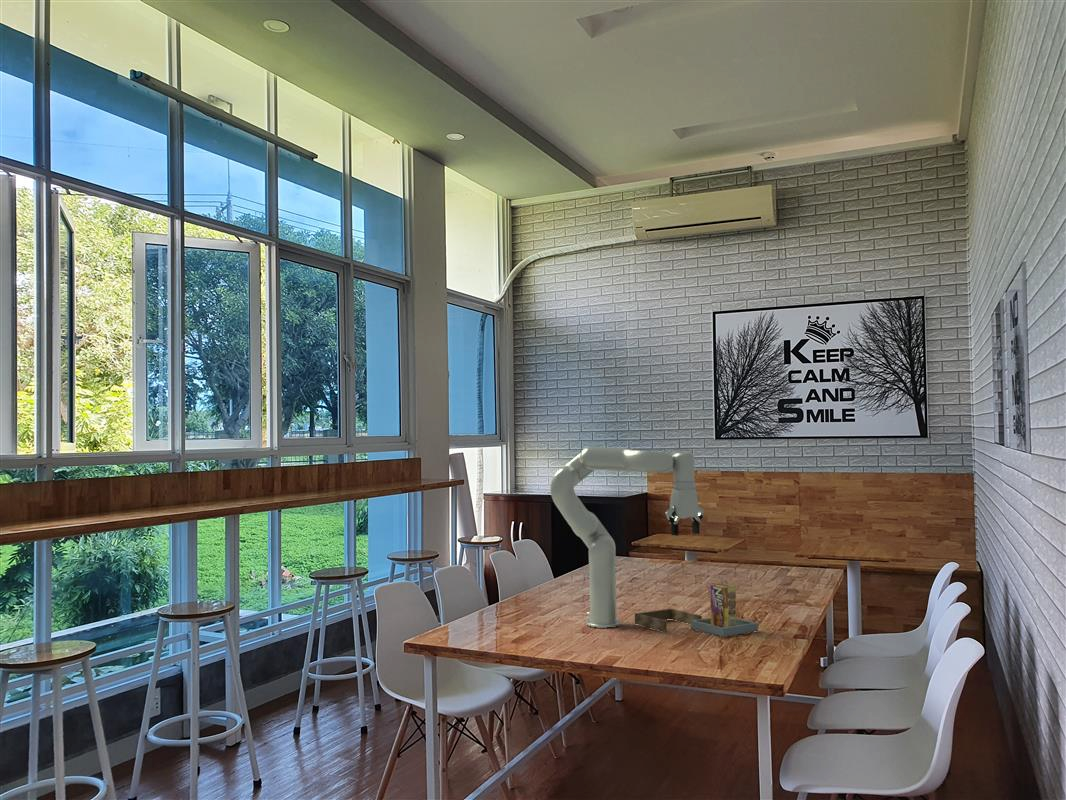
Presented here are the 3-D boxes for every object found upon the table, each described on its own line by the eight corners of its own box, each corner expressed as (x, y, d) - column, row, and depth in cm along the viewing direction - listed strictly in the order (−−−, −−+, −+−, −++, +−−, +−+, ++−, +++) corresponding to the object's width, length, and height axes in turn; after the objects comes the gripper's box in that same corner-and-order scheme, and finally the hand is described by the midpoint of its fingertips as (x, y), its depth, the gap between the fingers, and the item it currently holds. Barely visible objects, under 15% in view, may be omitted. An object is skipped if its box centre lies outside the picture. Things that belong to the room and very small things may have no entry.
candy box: (737, 630, 279) (736, 585, 280) (728, 631, 277) (727, 586, 278) (719, 625, 287) (718, 581, 288) (710, 627, 285) (709, 582, 286)
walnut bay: (634, 624, 293) (634, 613, 294) (671, 619, 302) (671, 608, 302) (664, 633, 279) (664, 621, 279) (701, 627, 288) (701, 615, 288)
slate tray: (690, 629, 284) (690, 620, 285) (725, 623, 293) (724, 615, 293) (723, 637, 271) (723, 628, 271) (758, 631, 279) (757, 623, 279)
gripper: (695, 485, 301) (696, 532, 300) (658, 487, 292) (660, 535, 291) (709, 486, 295) (710, 533, 294) (672, 487, 286) (673, 536, 285)
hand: (685, 534), depth 292 cm, fingers open, 9 cm apart
